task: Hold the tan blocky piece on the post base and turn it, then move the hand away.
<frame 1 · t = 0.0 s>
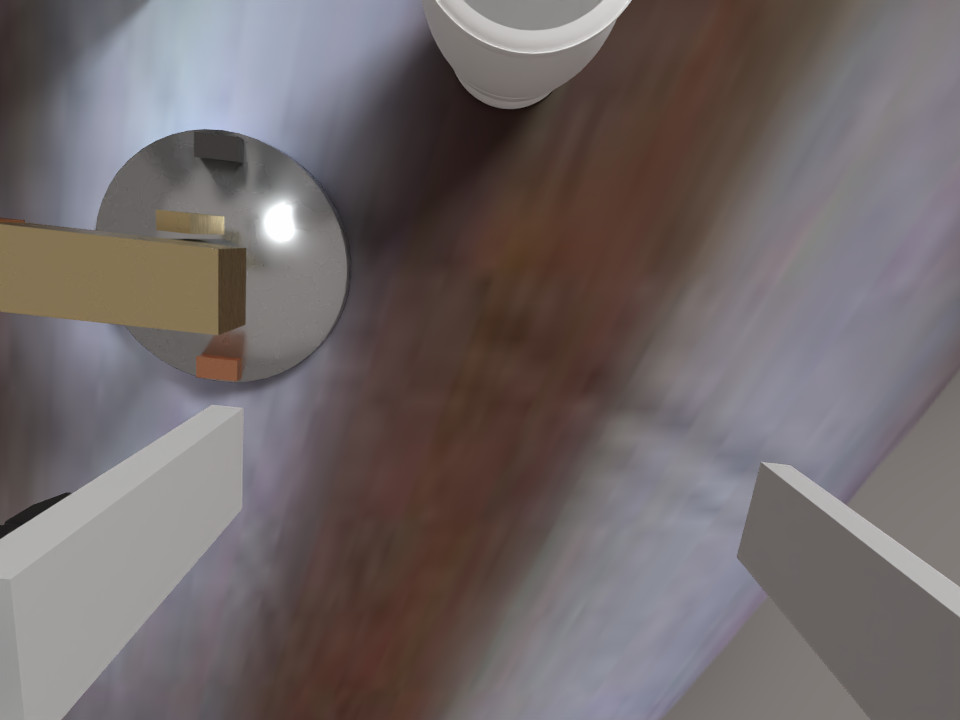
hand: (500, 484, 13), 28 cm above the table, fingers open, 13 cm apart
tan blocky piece: (154, 269, 30), point 10 cm above the table, hinge at 0.0°
post base: (231, 261, 39), on the table
jar: (509, 46, 36), on the table
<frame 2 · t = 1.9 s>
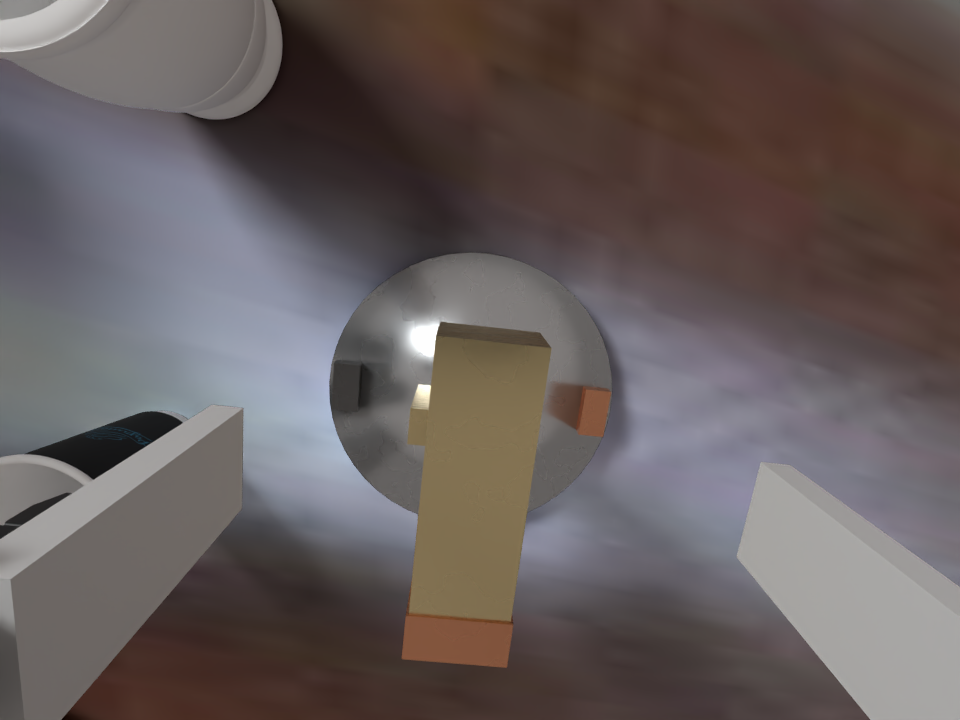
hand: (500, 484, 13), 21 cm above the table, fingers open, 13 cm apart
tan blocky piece: (471, 447, 25), point 10 cm above the table, hinge at 0.0°
dixie cup: (168, 442, 35), on the table
post base: (471, 390, 35), on the table
jar: (212, 41, 30), on the table
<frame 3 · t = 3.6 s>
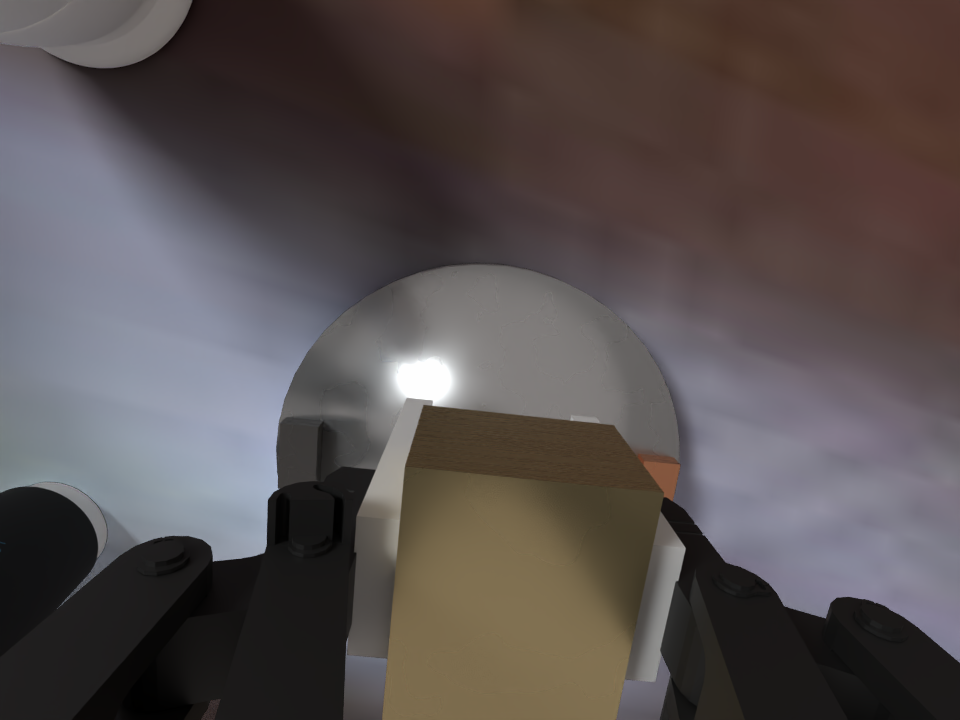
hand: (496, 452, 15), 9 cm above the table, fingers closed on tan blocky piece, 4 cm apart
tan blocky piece: (481, 587, 15), point 10 cm above the table, hinge at 0.0°, touching gripper
dixie cup: (60, 524, 26), on the table
post base: (478, 455, 25), on the table
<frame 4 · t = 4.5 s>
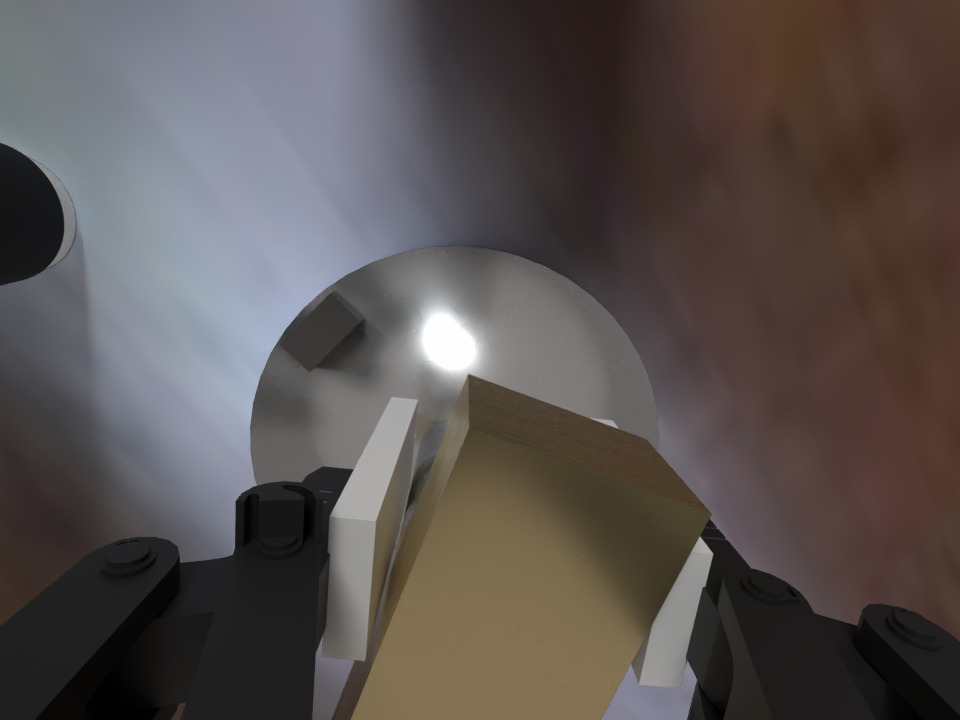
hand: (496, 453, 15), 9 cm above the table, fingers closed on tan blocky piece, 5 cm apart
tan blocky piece: (451, 570, 15), point 10 cm above the table, hinge at 25.2°, touching gripper
dixie cup: (20, 213, 22), on the table
post base: (457, 441, 25), on the table
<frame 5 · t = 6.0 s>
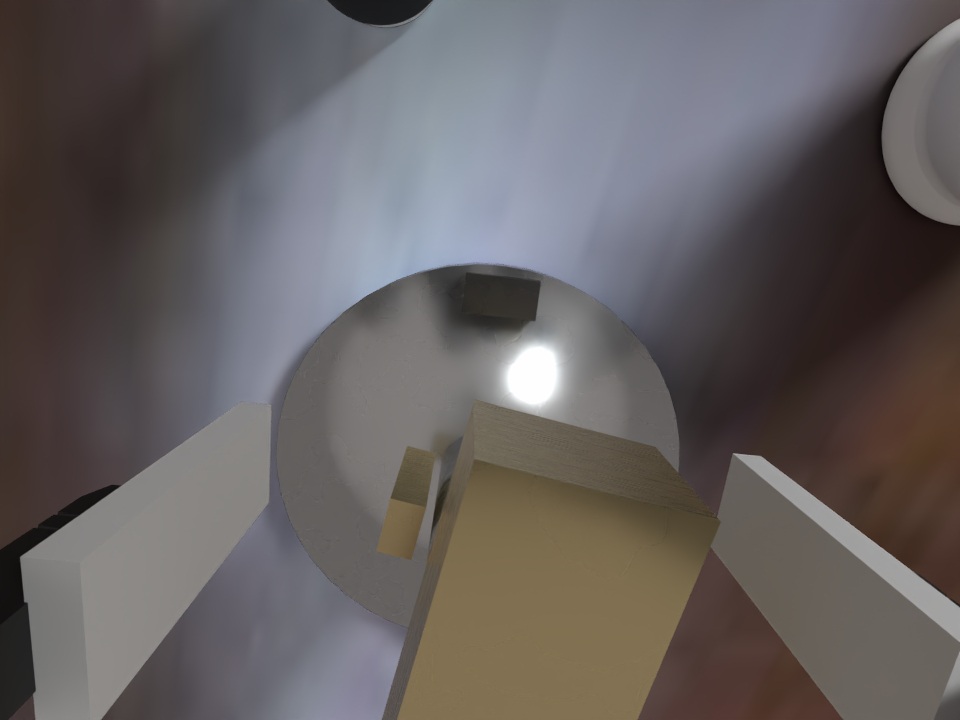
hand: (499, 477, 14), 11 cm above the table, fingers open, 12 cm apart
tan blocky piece: (480, 587, 15), point 10 cm above the table, hinge at 81.0°
post base: (478, 455, 25), on the table
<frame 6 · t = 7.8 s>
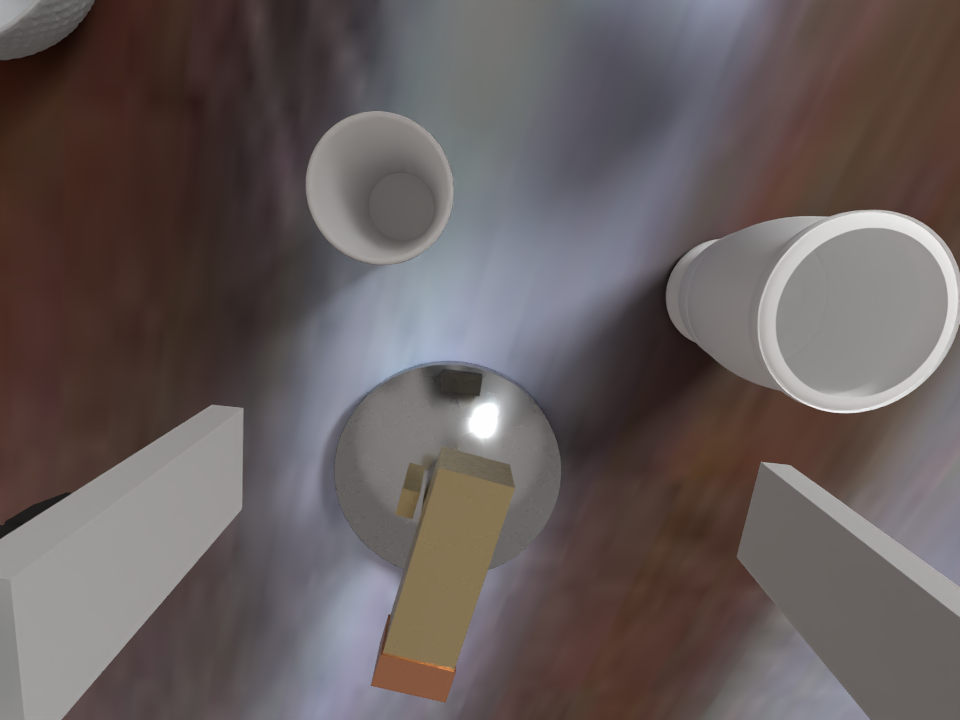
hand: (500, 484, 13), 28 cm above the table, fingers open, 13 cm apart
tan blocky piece: (445, 528, 33), point 10 cm above the table, hinge at 81.1°
dixie cup: (402, 207, 39), on the table
post base: (449, 468, 43), on the table
jar: (716, 293, 41), on the table
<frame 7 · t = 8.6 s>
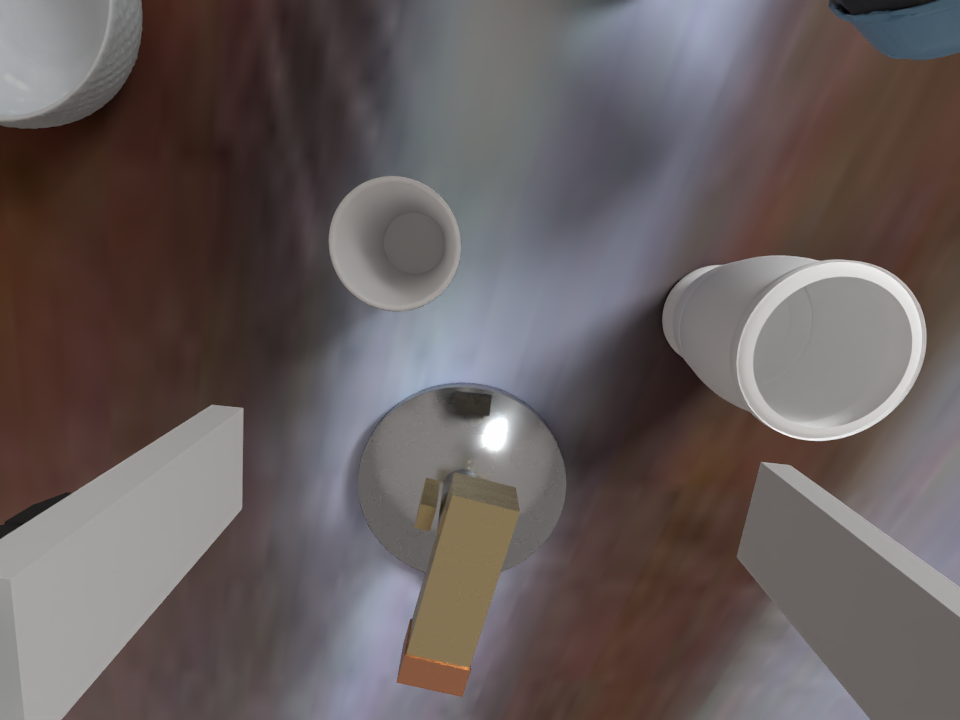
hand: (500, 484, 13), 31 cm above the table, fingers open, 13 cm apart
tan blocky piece: (459, 541, 37), point 10 cm above the table, hinge at 81.1°
cereal bowl: (62, 19, 38), on the table
dixie cup: (415, 243, 42), on the table
post base: (462, 479, 46), on the table
jar: (710, 315, 44), on the table
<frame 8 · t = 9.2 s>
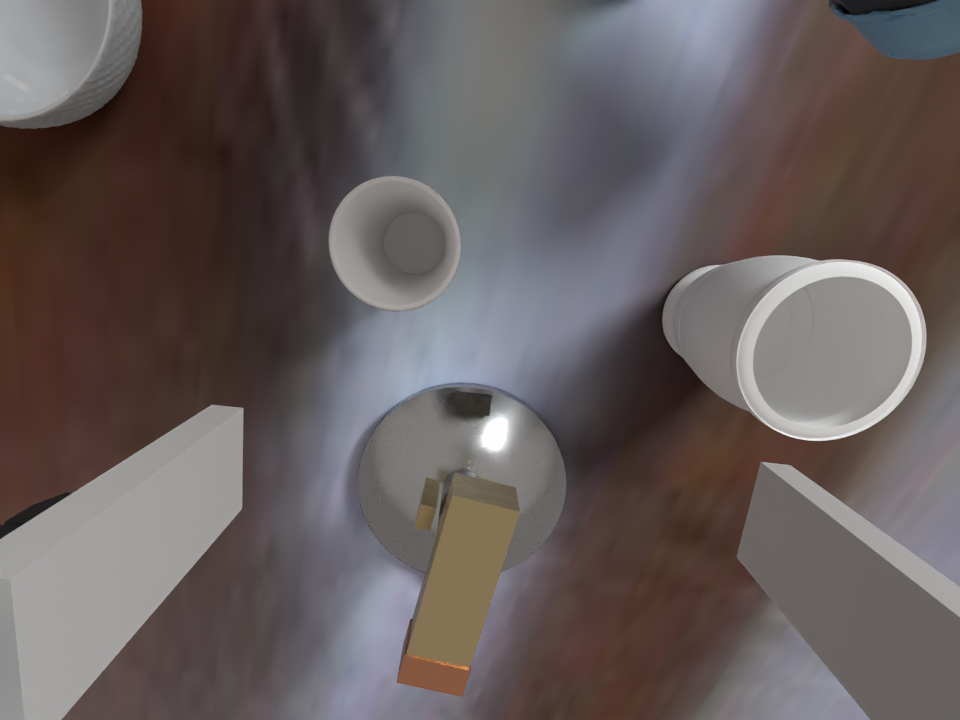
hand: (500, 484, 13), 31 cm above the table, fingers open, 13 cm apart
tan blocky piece: (459, 541, 37), point 10 cm above the table, hinge at 81.1°
cereal bowl: (62, 19, 38), on the table
dixie cup: (415, 243, 42), on the table
post base: (462, 479, 46), on the table
jar: (710, 315, 44), on the table
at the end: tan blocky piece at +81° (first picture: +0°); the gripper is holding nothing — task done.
